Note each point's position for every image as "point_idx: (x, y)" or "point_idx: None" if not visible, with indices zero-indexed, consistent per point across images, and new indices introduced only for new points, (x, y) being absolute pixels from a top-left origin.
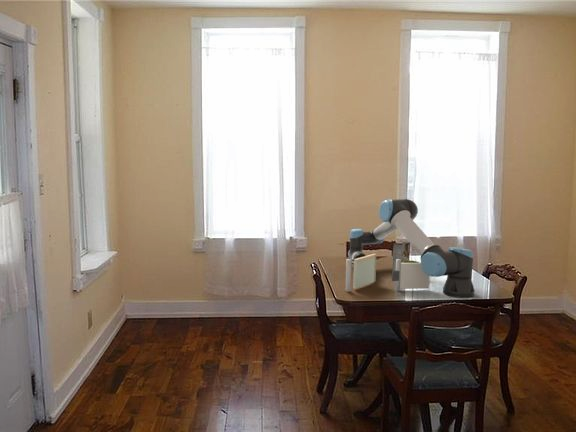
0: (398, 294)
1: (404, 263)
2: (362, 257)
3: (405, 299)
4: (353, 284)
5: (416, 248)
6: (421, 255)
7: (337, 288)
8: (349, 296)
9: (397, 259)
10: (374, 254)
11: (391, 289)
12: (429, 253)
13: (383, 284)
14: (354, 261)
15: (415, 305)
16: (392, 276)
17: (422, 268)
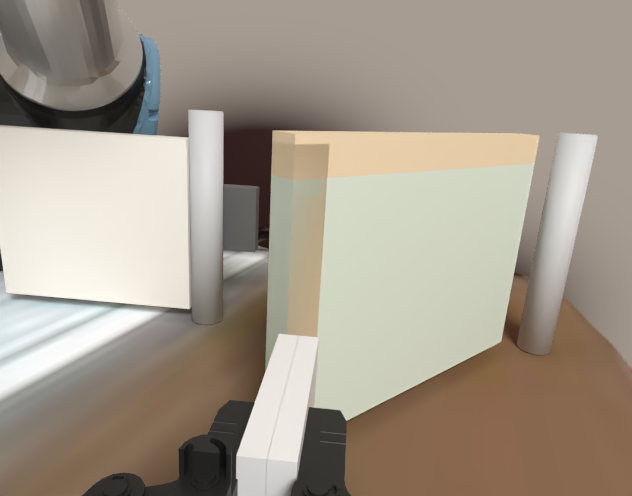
0: (248, 287)
1: (168, 136)
2: (468, 134)
3: (260, 257)
4: (503, 316)
5: (113, 17)
6: (142, 58)
7: (625, 392)
8: (512, 300)
9: (216, 111)
10: (309, 131)
11: (228, 333)
12: (151, 39)
13: (202, 418)
14: (532, 151)
15: (264, 234)
16: (257, 220)
17: (157, 126)
